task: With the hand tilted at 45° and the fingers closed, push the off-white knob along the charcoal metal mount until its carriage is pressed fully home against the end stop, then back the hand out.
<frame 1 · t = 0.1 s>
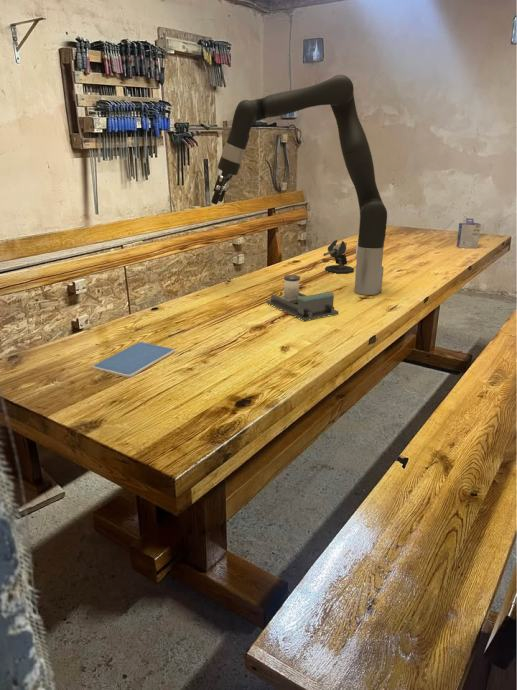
hand: (216, 202, 197), 31 cm above the table, tool tilted 20°, fingers open, 8 cm apart
gun turret: (336, 272, 230), on the table
tablet computer: (135, 362, 141), on the table
container: (365, 257, 257), on the table
knob mount: (301, 308, 182), on the table
ink cartridge box: (466, 247, 281), on the table
knob carriage: (291, 288, 185), point 5 cm above the table, slide at 0.0 cm
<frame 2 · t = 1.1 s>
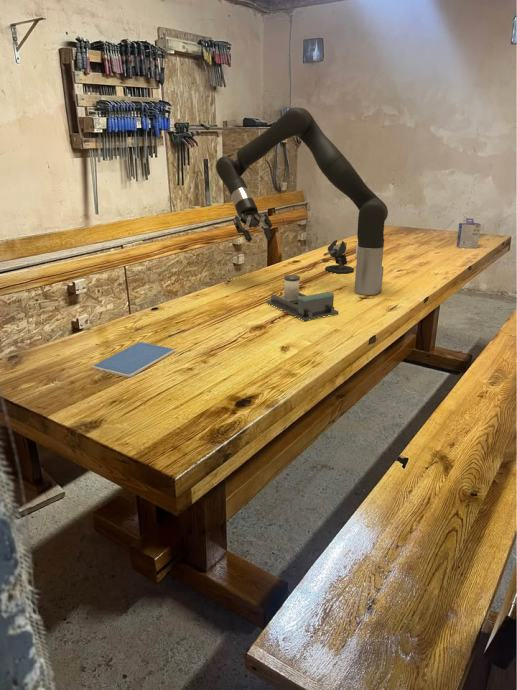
hand: (260, 239, 196), 19 cm above the table, tool tilted 45°, fingers open, 7 cm apart
nothing on the table moved.
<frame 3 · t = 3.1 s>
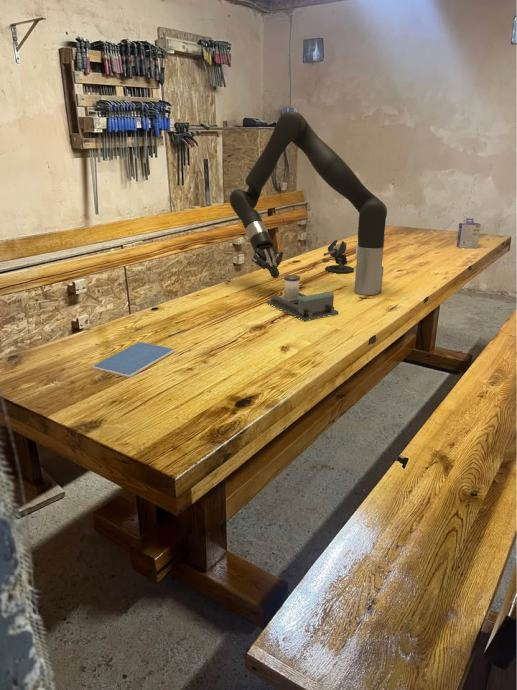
hand: (276, 276, 192), 8 cm above the table, tool tilted 45°, fingers closed
nothing on the table moved.
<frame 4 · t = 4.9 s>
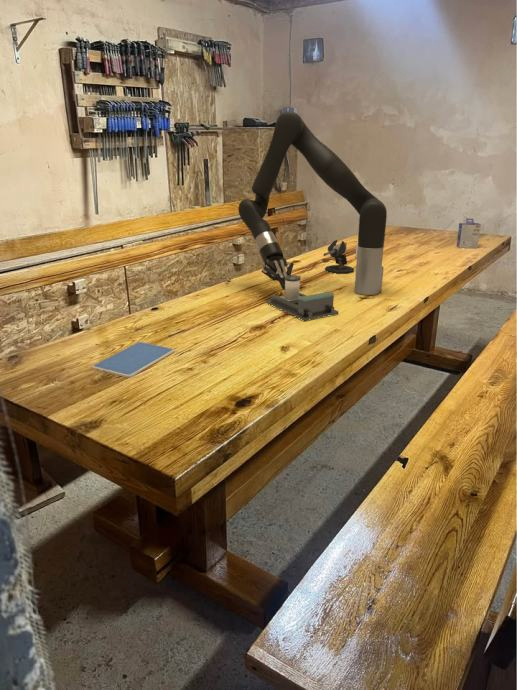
hand: (287, 288, 187), 5 cm above the table, tool tilted 45°, fingers closed
knob carriage: (292, 289, 185), point 5 cm above the table, slide at 0.3 cm, touching gripper
everything else where it was.
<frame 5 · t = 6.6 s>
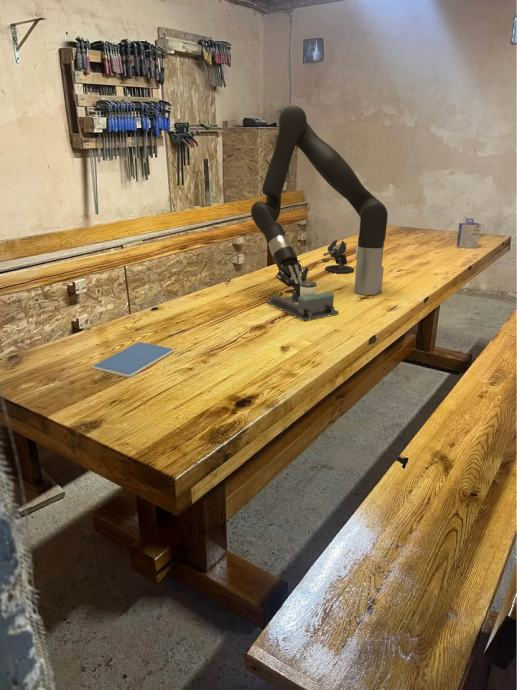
hand: (302, 294, 181), 5 cm above the table, tool tilted 45°, fingers closed
knob carriage: (307, 295, 178), point 5 cm above the table, slide at 9.1 cm, touching gripper
everything else where it was.
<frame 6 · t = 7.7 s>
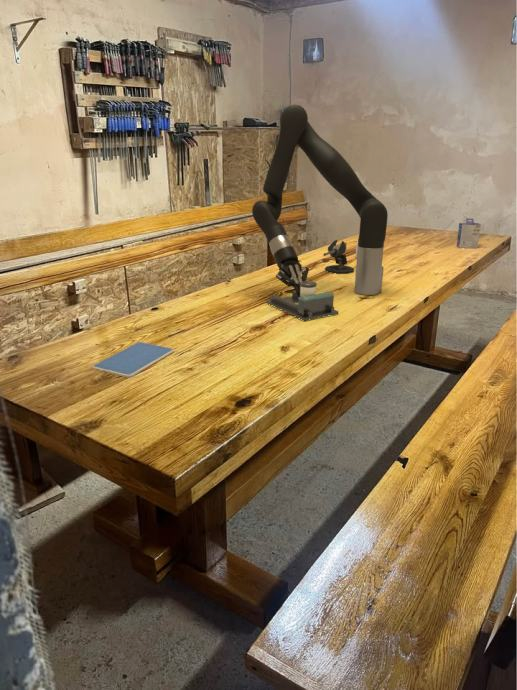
hand: (302, 295, 180), 5 cm above the table, tool tilted 45°, fingers closed
nothing on the table moved.
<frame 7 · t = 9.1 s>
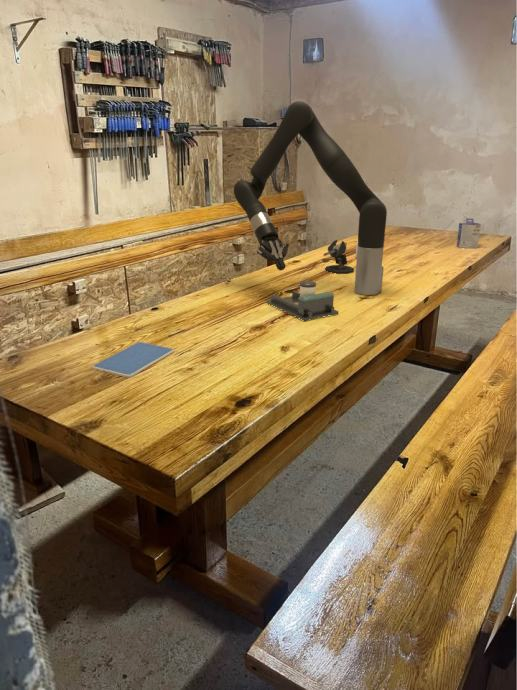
hand: (282, 269, 187), 11 cm above the table, tool tilted 45°, fingers closed
knob carriage: (307, 295, 178), point 5 cm above the table, slide at 9.0 cm
everything else where it was.
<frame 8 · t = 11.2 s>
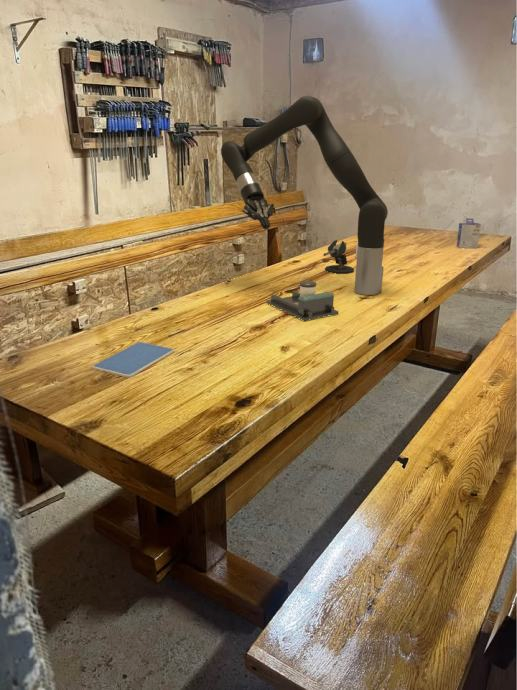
hand: (267, 227, 191), 24 cm above the table, tool tilted 45°, fingers closed
nothing on the table moved.
at the end: knob carriage slide at 9.0 cm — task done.
